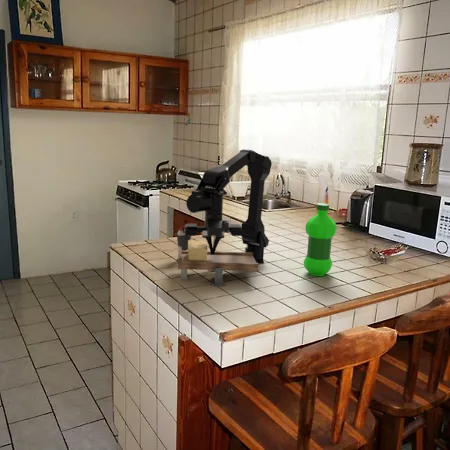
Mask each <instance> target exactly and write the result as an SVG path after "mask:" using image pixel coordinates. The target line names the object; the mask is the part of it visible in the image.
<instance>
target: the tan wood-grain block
mask: <svg viewBox="0 0 450 450" xmlns="http://www.w3.org/2000/svg"><path fill="white" fill-rule="evenodd" d="M187 251H188V261H196V262H207V251H208V246H207V240H192V239H190V240H188V250H187Z"/></svg>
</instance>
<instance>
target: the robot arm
mask: <svg viewBox="0 0 450 450" xmlns="http://www.w3.org/2000/svg"><path fill="white" fill-rule="evenodd" d="M272 165H273V163H272V160H271V159H270V157H269V156H266V155H263V154H261V153H258V152H256V151H254V150H253V149H244V148H243V149H240V150H239V151H238V153H237V154H235V155H234V156H233V157H231V158H230V159H228V160H227V161H226V162H224V163H222V165H220V166H215V167H211V168H209V169H207V170H205V171H204V173H203V175H202V178H201V179H200V182H199V183H198V185H197V187H196V189H195V190H191V195H189V196H187V199H186V201H185V203H186V208H187V210H188V211H189V212H190V213H192V214H196V213H201V212H204V226H198V224H197V223H186V224H184V225H185V235H192V236H196V235H197V233H201V236H202V237H201V238H203V239H205V241H206V243H207V244H208V248H209V251H210V252H211V255H214V253H215V251H216V250H217V247H218V245H219V243H220V241H221V240H222V239H224V238H225V233H227V234H230V235H231V236H232V237H241V240H242V244H243V245H246V247H244V252H250V253H253V257H254V259H255V261H256V263H258V264H259V263H260V264H261V263H263V264H264V263H265V260H264V256H265V254H264V252H265V248H267V247H268V246H269V243H270V239H269V238H268V237H267V235H266V233H265V225H264V223H263V221H262V213H263V212H262V211H263V201H264V191H265V181H266V179H267V178H268V177H269V176H270V173H271V169H272ZM245 166H247V174H248V177H250V189H249V199H248V209H247V210H248V212H247V219H246V220H245V221H244V222H242V223H241V225H240V224H239V223H236V224H235V223H229V220H226V219H225V220H223V209H224V208H223V205H224V196H225V195H228V192H227V191H226V190H225V188H226V186H227V185H228V184H230V181H231V177H233V176H234V175H236V173H238V172H239V171H241V170H242V169H243V168H244V167H245ZM212 237H213V239H212Z"/></svg>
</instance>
